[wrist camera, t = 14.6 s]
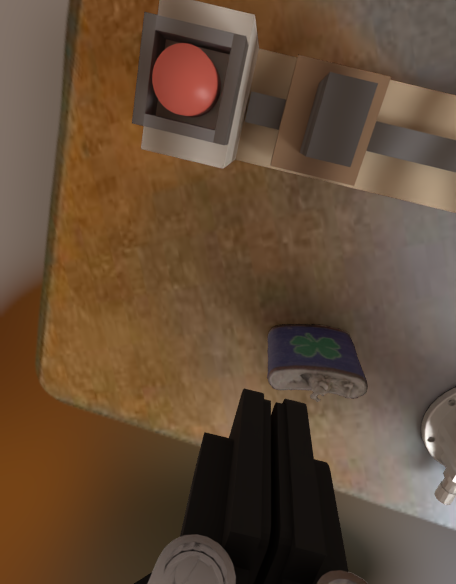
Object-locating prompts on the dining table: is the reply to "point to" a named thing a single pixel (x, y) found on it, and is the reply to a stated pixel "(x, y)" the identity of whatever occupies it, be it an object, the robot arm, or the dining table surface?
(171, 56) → the red dome button
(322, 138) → the carriage
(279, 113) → the rail
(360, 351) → the dining table surface
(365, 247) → the dining table surface
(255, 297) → the dining table surface
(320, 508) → the robot arm
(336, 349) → the flask
